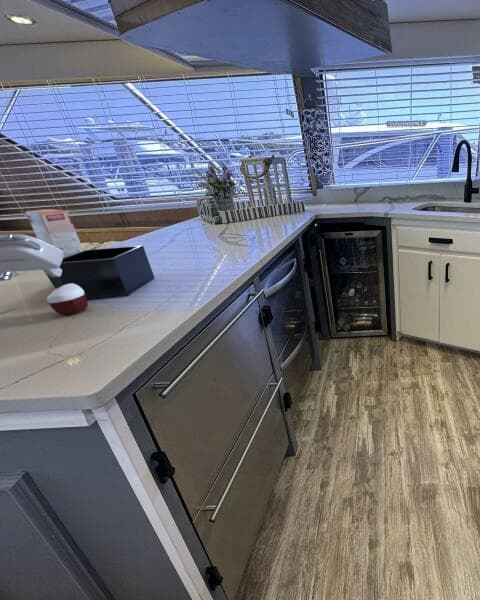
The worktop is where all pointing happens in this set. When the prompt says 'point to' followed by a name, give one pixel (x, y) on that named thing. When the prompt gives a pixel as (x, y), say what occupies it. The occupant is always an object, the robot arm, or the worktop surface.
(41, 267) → the robot arm
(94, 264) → the black open box
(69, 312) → the red white rounded piece
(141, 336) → the worktop surface
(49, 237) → the cracker box
